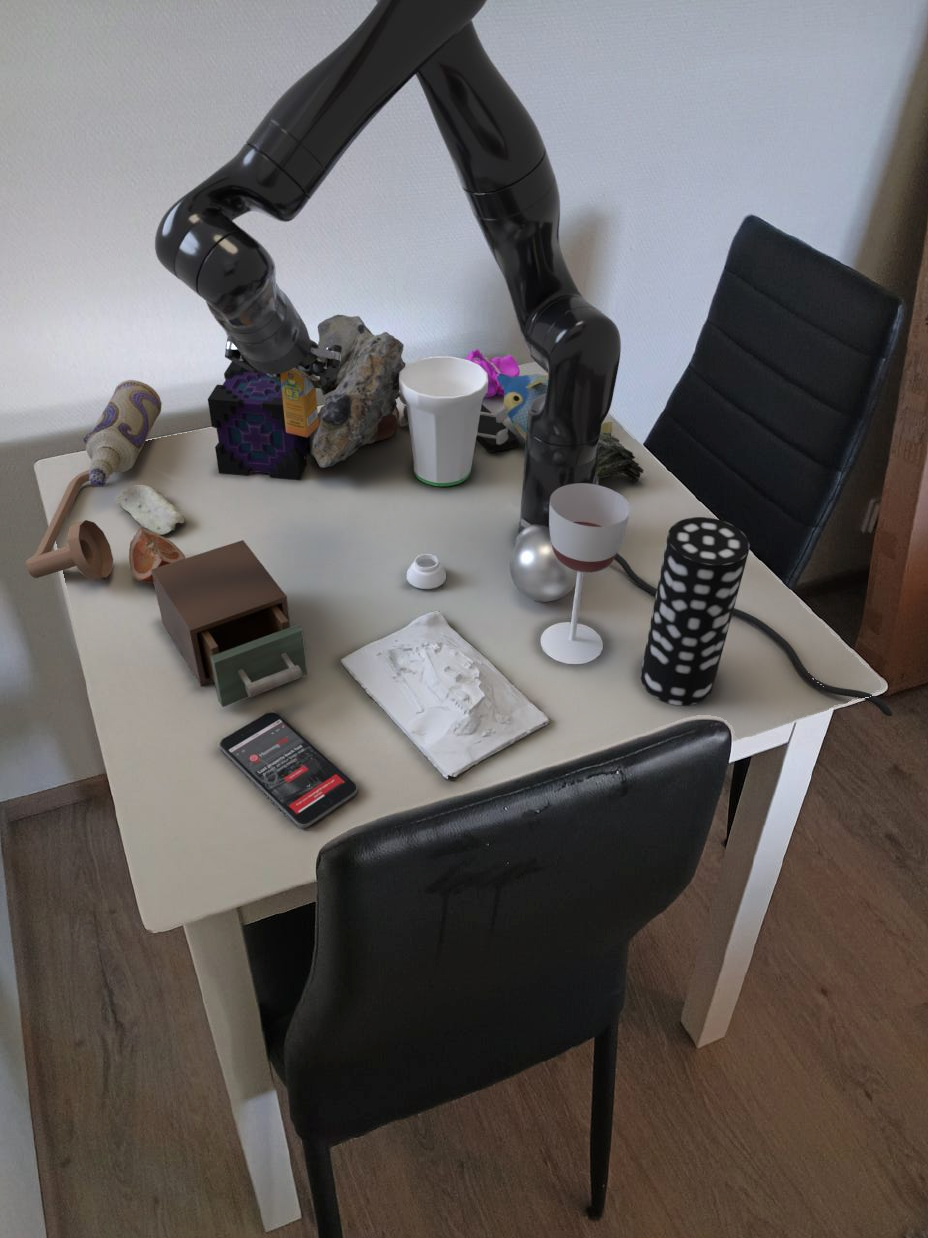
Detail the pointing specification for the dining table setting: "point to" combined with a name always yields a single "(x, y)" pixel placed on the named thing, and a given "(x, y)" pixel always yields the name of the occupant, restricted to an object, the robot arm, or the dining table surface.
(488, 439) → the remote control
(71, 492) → the long-stemmed smoking pipe
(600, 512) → the wineglass
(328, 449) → the rock
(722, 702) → the dining table surface
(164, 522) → the white oblong lump
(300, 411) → the supplement box
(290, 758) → the smartphone
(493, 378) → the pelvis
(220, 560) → the cabinet
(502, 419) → the figurine
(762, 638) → the dining table surface
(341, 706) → the dining table surface
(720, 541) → the white-spotted black cylinder
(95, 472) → the decorative bottle
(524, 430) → the decorative fish sculpture
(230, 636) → the drawer
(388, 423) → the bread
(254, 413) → the energy cube
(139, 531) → the fruit slice
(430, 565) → the white jar
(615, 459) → the mineral specimen
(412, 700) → the terrain model
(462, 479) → the cup
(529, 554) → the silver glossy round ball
